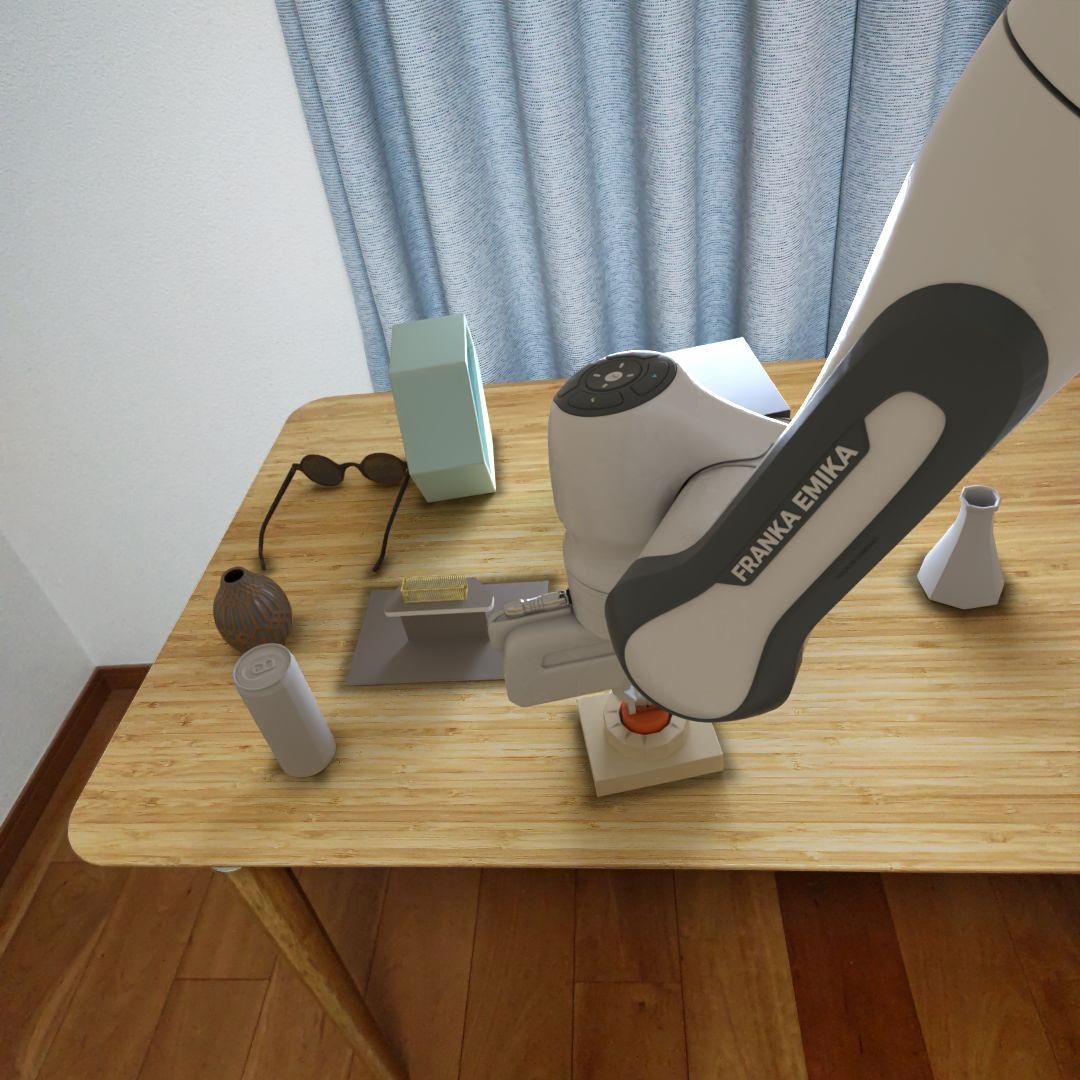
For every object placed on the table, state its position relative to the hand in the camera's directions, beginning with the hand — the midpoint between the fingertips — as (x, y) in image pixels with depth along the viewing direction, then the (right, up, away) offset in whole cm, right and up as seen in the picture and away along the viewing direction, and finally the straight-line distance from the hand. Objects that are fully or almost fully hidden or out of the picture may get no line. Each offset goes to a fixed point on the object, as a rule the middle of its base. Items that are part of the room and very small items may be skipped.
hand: (645, 704), depth 69 cm
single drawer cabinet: (+10, +22, +29) cm, 38 cm away
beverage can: (-28, -6, +7) cm, 29 cm away
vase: (-35, +3, +18) cm, 39 cm away
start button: (0, -1, +1) cm, 2 cm away
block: (+1, -4, +3) cm, 5 cm away
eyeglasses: (-30, +14, +29) cm, 44 cm away
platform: (-17, +4, +15) cm, 23 cm away
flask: (+29, +9, +11) cm, 33 cm away
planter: (-17, +20, +33) cm, 43 cm away
